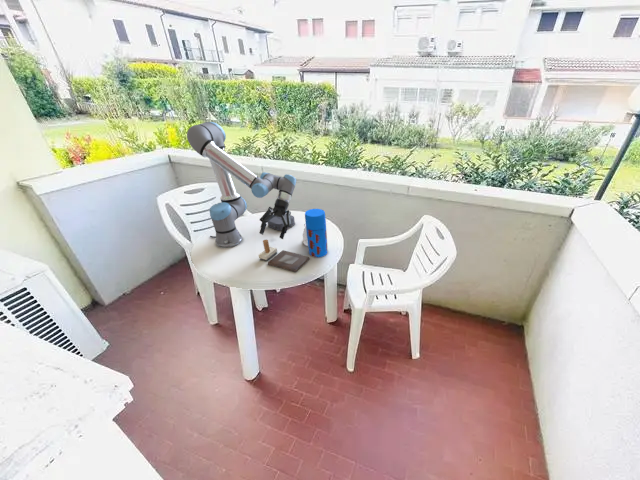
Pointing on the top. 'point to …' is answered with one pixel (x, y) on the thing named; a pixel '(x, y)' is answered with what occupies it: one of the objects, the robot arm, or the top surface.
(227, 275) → the top surface
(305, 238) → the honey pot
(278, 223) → the streaming box
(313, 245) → the thermos
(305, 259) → the walnut board
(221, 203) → the robot arm
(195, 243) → the top surface
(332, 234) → the top surface
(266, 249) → the scrub brush
